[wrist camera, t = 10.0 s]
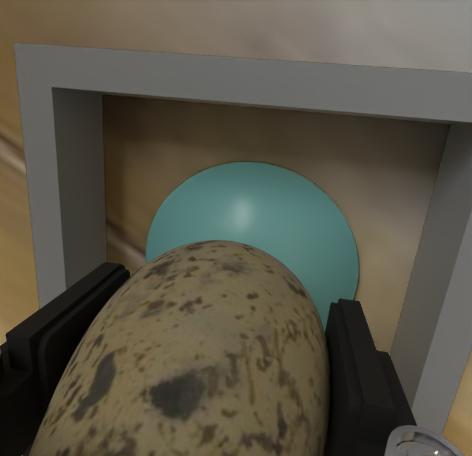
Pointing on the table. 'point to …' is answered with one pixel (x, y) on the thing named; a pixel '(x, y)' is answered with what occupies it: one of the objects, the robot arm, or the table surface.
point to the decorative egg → (197, 364)
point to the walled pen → (257, 186)
